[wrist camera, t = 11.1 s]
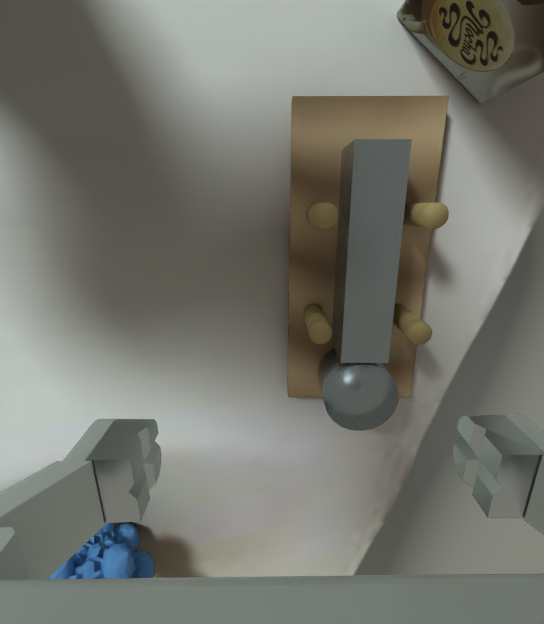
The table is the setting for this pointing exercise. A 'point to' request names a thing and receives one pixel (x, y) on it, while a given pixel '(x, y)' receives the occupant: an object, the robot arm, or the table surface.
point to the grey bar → (365, 282)
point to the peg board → (324, 221)
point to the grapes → (109, 556)
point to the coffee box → (481, 40)
